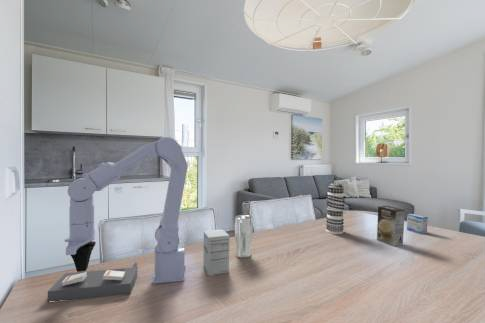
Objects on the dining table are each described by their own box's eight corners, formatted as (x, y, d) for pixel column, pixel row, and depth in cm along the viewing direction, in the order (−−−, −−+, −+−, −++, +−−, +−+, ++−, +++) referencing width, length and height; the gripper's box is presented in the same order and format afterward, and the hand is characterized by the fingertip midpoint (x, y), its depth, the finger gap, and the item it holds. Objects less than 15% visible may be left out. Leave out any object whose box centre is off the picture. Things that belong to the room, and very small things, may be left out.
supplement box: (202, 266, 86) (203, 230, 86) (223, 263, 89) (223, 228, 88) (207, 276, 79) (207, 237, 79) (229, 272, 82) (230, 235, 81)
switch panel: (141, 264, 86) (141, 255, 86) (130, 293, 68) (130, 281, 68) (77, 269, 82) (77, 259, 82) (47, 302, 64) (47, 289, 64)
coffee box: (375, 239, 117) (377, 206, 116) (385, 238, 119) (386, 205, 119) (394, 246, 108) (395, 210, 108) (404, 244, 111) (405, 209, 110)
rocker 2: (124, 274, 72) (125, 271, 72) (121, 280, 69) (122, 276, 69) (106, 273, 71) (106, 269, 71) (102, 279, 68) (103, 275, 68)
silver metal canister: (241, 250, 101) (242, 213, 101) (255, 254, 97) (256, 216, 97) (230, 255, 96) (231, 217, 96) (244, 260, 92) (245, 220, 91)
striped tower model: (321, 230, 131) (322, 183, 130) (334, 228, 134) (335, 182, 134) (334, 235, 122) (335, 185, 122) (348, 233, 126) (349, 184, 126)
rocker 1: (87, 275, 70) (86, 271, 70) (82, 280, 67) (82, 277, 67) (67, 280, 69) (66, 276, 69) (62, 286, 66) (61, 282, 66)
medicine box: (406, 230, 133) (407, 214, 133) (411, 229, 135) (412, 213, 135) (422, 234, 126) (422, 217, 126) (427, 233, 128) (427, 216, 128)
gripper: (76, 216, 74) (76, 260, 74) (51, 230, 60) (51, 285, 60) (102, 215, 76) (102, 258, 76) (84, 229, 62) (84, 282, 62)
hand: (82, 270), depth 68 cm, fingers closed
